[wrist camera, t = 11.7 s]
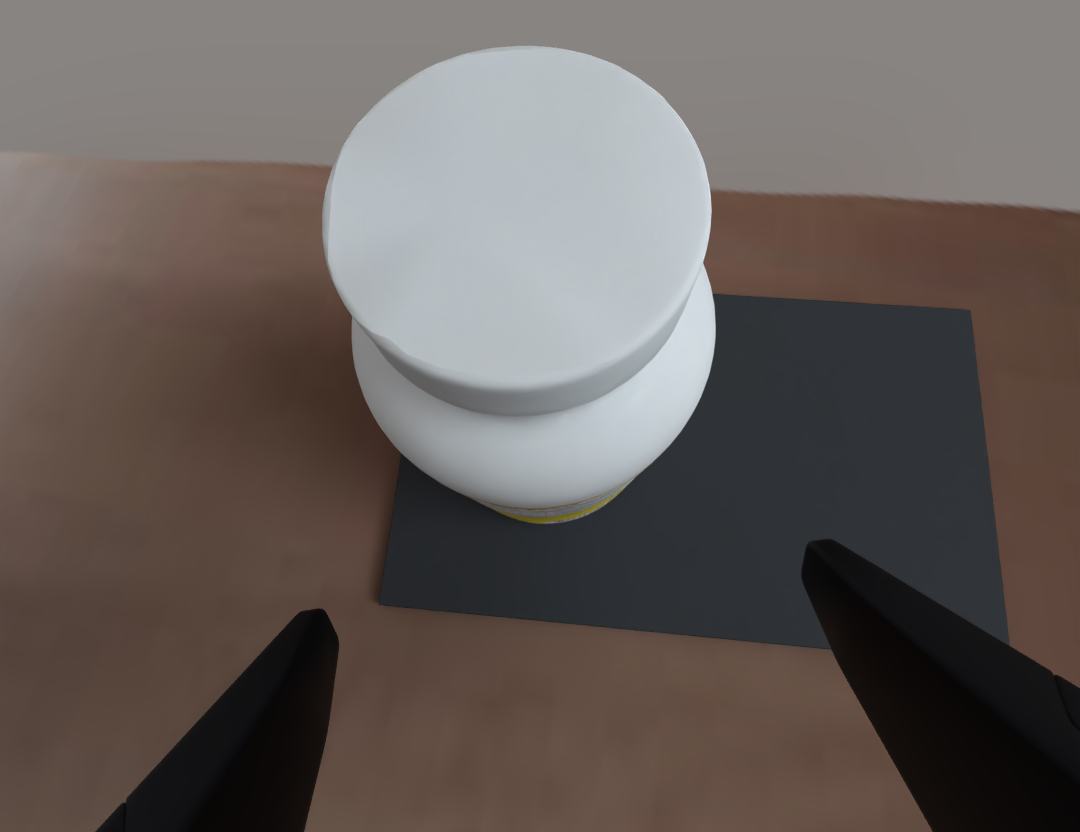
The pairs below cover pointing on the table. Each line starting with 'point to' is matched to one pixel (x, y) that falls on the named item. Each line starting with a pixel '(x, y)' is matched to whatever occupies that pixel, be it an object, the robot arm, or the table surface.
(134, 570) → the table surface
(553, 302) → the supplement bottle
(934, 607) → the robot arm
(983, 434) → the desk mat
